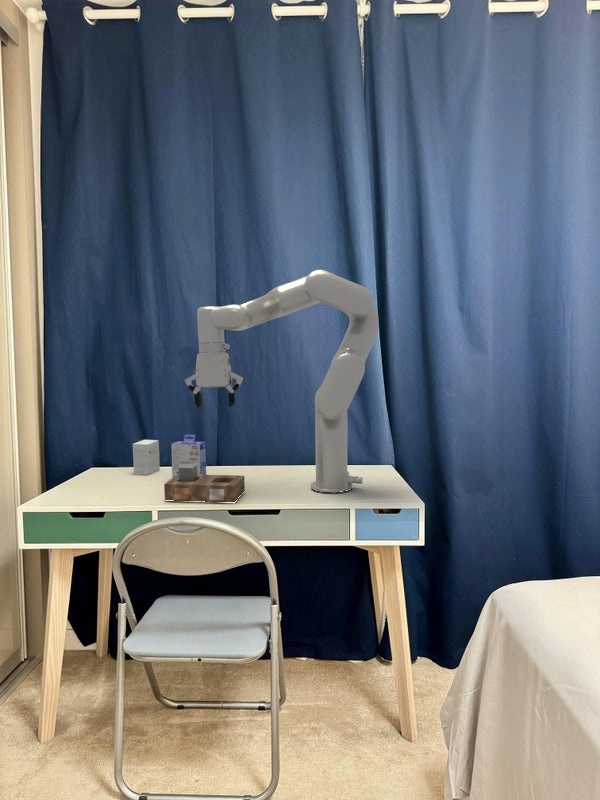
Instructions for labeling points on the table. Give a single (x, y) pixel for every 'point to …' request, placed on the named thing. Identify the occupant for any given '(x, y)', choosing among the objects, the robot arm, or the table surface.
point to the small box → (146, 457)
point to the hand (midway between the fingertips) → (215, 406)
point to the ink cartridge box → (189, 454)
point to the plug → (188, 471)
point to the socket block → (206, 488)
